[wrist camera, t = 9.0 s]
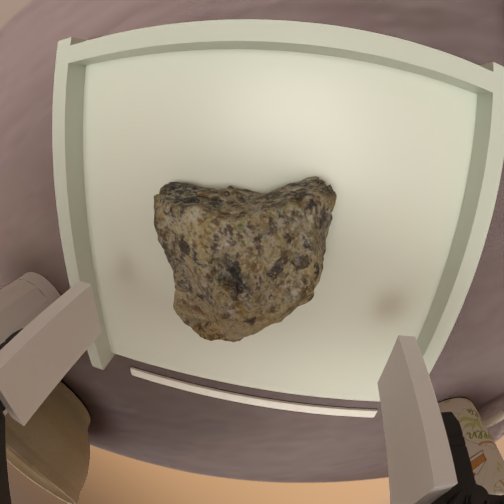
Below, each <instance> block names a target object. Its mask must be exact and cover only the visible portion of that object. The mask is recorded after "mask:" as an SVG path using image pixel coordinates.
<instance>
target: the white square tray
mask: <svg viewBox="0 0 504 504" xmlns="http://www.w3.org/2000/svg"><path fill="white" fill-rule="evenodd" d="M52 145H53V169H54V184H55V195H56V205H57V214H58V222H59V229H60V236H61V242H62V248H63V254H64V260H65V265H66V270H67V275H68V280H69V284H70V288H71V287H72V286H74V285H75V284H76V283H77V282H79V281H81V282H85V283H89V284H92V289H93V294H94V299H95V304H96V308H97V313H98V317H99V322H100V326H101V330H102V333H101V334H100V335H99V336H98V337H97V338H96V340H95V341H94V342H93V343H92V344H91V345H90V346H89V348H88V349H87V351H88V354H89V358H90V361H91V364H92V366H93V367H96V368H99V369H101V370H104V368H105V367H106V366H107V364H108V363H109V362H110V361H111V359H112V358H113V357H114V355H115V354H118V355H121V356H124V357H127V358H130V359H134V360H137V361H140V362H144V363H147V364H151V365H154V366H158V367H162V368H165V369H169V370H173V371H177V372H181V373H185V374H189V375H193V376H198V377H202V378H206V379H211V380H216V381H220V382H225V383H230V384H235V385H241V386H246V387H252V388H258V389H264V390H270V391H276V392H283V393H290V394H298V395H306V396H315V397H325V398H335V399H347V400H362V401H380V397H379V391H378V384H377V382H378V380H379V378H380V376H381V374H382V372H383V370H384V367H385V365H386V363H387V361H388V358H389V356H390V354H391V352H392V349H393V347H394V344H395V342H396V340H397V337H398V335H402V336H415V338H416V340H417V343H418V346H419V348H420V351H421V354H422V357H423V360H424V362H425V365H426V368H427V371H428V374H430V372H431V370H432V368H433V366H434V365H435V363H436V361H437V359H438V357H439V355H440V353H441V351H442V349H443V347H444V345H445V343H446V341H447V339H448V337H449V335H450V333H451V330H452V328H453V326H454V324H455V322H456V319H457V317H458V315H459V312H460V310H461V308H462V305H463V303H464V300H465V298H466V295H467V293H468V290H469V288H470V285H471V282H472V280H473V277H474V274H475V271H476V268H477V265H478V262H479V259H480V256H481V253H482V250H483V247H484V243H485V240H486V237H487V233H488V230H489V226H490V222H491V218H492V214H493V210H494V206H495V202H496V197H497V192H498V188H499V182H500V177H501V171H502V166H503V159H504V67H503V66H501V65H499V64H497V63H495V62H491V63H487V64H483V65H476V64H474V63H472V62H469V61H467V60H464V59H461V58H459V57H456V56H454V55H451V54H448V53H445V52H442V51H439V50H436V49H433V48H430V47H427V46H424V45H420V44H417V43H414V42H410V41H406V40H403V39H399V38H395V37H391V36H387V35H382V34H378V33H373V32H368V31H363V30H358V29H352V28H346V27H340V26H333V25H326V24H318V23H308V22H297V21H283V20H255V19H239V20H211V21H197V22H186V23H176V24H168V25H161V26H154V27H148V28H142V29H136V30H131V31H126V32H121V33H116V34H112V35H107V36H103V37H99V38H95V39H91V40H88V41H87V40H83V39H78V38H74V37H70V38H67V39H64V40H61V41H58V47H57V55H56V65H55V76H54V90H53V113H52ZM315 176H316V177H319V180H323V181H324V182H325V184H326V185H327V186H328V185H331V187H332V189H333V191H335V193H336V195H337V197H336V202H335V206H334V208H333V211H332V218H333V219H332V221H331V224H330V227H329V231H328V236H327V238H326V252H325V254H324V256H323V257H324V260H323V270H322V273H321V277H320V281H319V283H318V284H317V286H316V287H315V289H314V297H313V298H312V300H311V301H309V302H307V303H306V304H303V305H301V306H298V307H297V308H296V309H295V310H294V311H293V312H292V313H291V314H290V315H288V316H287V317H285V318H284V319H283V321H282V322H278V323H274V324H271V325H269V326H268V327H265V328H264V329H263V330H261V331H259V332H258V333H256V334H254V335H250V336H248V337H244V338H243V339H241V341H236V342H231V341H224V340H213V341H210V340H206V339H203V338H201V337H200V336H199V335H198V334H197V333H196V332H194V331H193V330H192V328H191V327H190V326H188V325H186V324H184V322H183V321H182V320H181V318H180V317H179V316H178V315H177V313H176V311H175V310H174V308H173V303H174V294H175V290H176V289H175V282H174V277H173V270H172V268H171V265H170V264H169V262H168V260H167V257H166V255H165V253H164V249H163V248H162V246H161V244H160V243H159V241H158V234H157V232H156V230H155V227H154V213H155V212H154V207H153V206H154V196H155V195H156V194H159V191H160V188H161V187H163V186H164V185H165V184H168V183H169V182H179V183H189V184H192V185H196V186H200V187H204V188H215V189H217V190H222V189H224V188H225V189H226V188H227V187H228V186H230V185H231V186H232V187H234V188H235V189H236V188H239V189H247V190H250V191H253V192H258V193H262V194H267V193H269V192H271V191H273V190H276V189H278V188H280V187H283V186H286V185H288V184H289V183H297V182H300V181H302V180H304V179H306V178H307V177H315Z"/></svg>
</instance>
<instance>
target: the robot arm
mask: <svg viewBox="0 0 504 504" xmlns="http://www.w3.org/2000/svg"><path fill="white" fill-rule="evenodd" d="M101 333H102V330H101V326H100V322H99V317H98V313H97V308H96V304H95V299H94V294H93V289H92V284H89V283H85V282H81V281H79V282H77V283H76V284H75V285H74V286H72V287H71V288H70V289H69V290H68V291H66V292H65V293H64V294H63V295H62V296H60V297H59V298H58V299H57V300H56V301H54V302H53V303H52V304H51V305H50V306H49V307H47V308H46V309H45V310H44V311H43V312H42V313H41V314H39V315H38V316H37V317H36V318H35V319H34V320H33V321H31V322H30V323H29V324H28V325H27V326H26V327H25V328H22V329H20V330H18V331H16V332H14V333H12V334H11V335H10V336H9V337H8V338H7V339H6V340H5V342H3V343H2V344H0V504H11V498H10V491H9V483H8V473H7V461H6V440H5V415H4V413H3V411H4V410H5V409H6V410H7V411H8V413H9V414H10V416H11V417H12V418H13V419H14V420H16V421H17V422H19V423H20V424H22V425H23V426H25V424H26V423H27V422H28V421H29V419H30V418H31V417H32V415H33V414H34V413H35V412H36V410H37V409H38V408H39V407H40V405H41V404H42V403H43V402H44V400H45V399H46V398H47V397H48V395H49V394H50V393H51V392H52V390H53V389H54V388H55V387H56V385H57V384H58V383H59V382H60V381H61V379H62V378H63V377H64V376H65V375H66V373H67V372H68V371H69V370H70V369H71V367H72V366H73V365H74V364H75V363H76V362H77V360H78V359H79V358H80V357H81V356H82V355H83V353H84V352H85V351H86V350H87V349H88V348H89V346H90V345H91V344H92V343H93V342H94V341H95V340H96V338H97V337H98V336H99V335H100V334H101ZM377 384H378V391H379V397H380V404H381V411H382V418H383V425H384V434H385V442H386V451H387V462H388V473H389V486H390V503H391V504H504V495H491V494H488V492H487V490H486V489H485V488H484V487H483V486H481V485H477V484H476V481H475V478H474V474H473V470H472V465H471V461H470V458H469V454H468V450H467V446H465V444H466V443H465V439H464V437H463V432H462V429H461V426H460V423H459V421H458V420H457V418H456V417H455V416H454V414H453V413H452V412H440V409H439V405H438V402H437V399H436V396H435V392H434V389H433V386H432V383H431V380H430V377H429V374H428V371H427V368H426V365H425V362H424V360H423V357H422V354H421V351H420V348H419V346H418V343H417V340H416V338H415V336H402V335H398V337H397V340H396V342H395V344H394V347H393V349H392V352H391V354H390V356H389V358H388V361H387V363H386V365H385V367H384V370H383V372H382V374H381V376H380V378H379V380H378V382H377Z"/></svg>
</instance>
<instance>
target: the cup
mask: <svg viewBox="0 0 504 504" xmlns="http://www.w3.org/2000/svg"><path fill="white" fill-rule="evenodd" d="M60 296H61V295H60V294H59V292H58V291H57V290H56V288H55V287H54V286H53V285H52V284H51V283H50V282H49V281H48V280H47V279H46V278H44V277H43V276H41V275H40V274H38V273H35V272H27V273H25V274H24V275H23V276H21V277H20V278H18V279H17V280H15V281H14V282H12V283H10V284H8V285H7V286H5V287H3V288H2V289H0V344H2V343H3V342H5V340H6V339H7V338H8V337H9V336H10V335H11V334H12V333H14V332H16V331H18V330H20V329H22V328H25V327H26V326H27V325H28V324H29V323H30V322H31V321H33V320H34V319H35V318H36V317H37V316H38V315H39V314H41V313H42V312H43V311H44V310H45V309H46V308H47V307H49V306H50V305H51V304H52V303H53V302H54V301H56V300H57V299H58V298H59V297H60ZM7 412H8V411H7V410H6V409H5V410H4V411H3V413H4V415H6V414H7Z"/></svg>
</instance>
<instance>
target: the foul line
mask: <svg viewBox="0 0 504 504" xmlns="http://www.w3.org/2000/svg"><path fill="white" fill-rule="evenodd" d="M130 369H131V373H132V375H133V376H136V377H140V378H143V379H146V380H149V381H153V382H156V383H160V384H163V385H167V386H170V387H174V388H178V389H182V390H186V391H190V392H194V393H198V394H202V395H206V396H211V397H215V398H220V399H225V400H230V401H235V402H240V403H245V404H251V405H257V406H263V407H269V408H276V409H282V410H290V411H298V412H306V413H315V414H326V415H338V416H353V417H374V416H375V415H376V413H377V409H361V408H345V407H332V406H322V405H312V404H303V403H295V402H288V401H280V400H274V399H267V398H261V397H255V396H249V395H244V394H239V393H233V392H228V391H223V390H219V389H214V388H209V387H205V386H201V385H196V384H192V383H188V382H184V381H180V380H176V379H172V378H169V377H165V376H161V375H158V374H154V373H151V372H147V371H144V370H141V369H137V368H134V367H131V368H130Z"/></svg>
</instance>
